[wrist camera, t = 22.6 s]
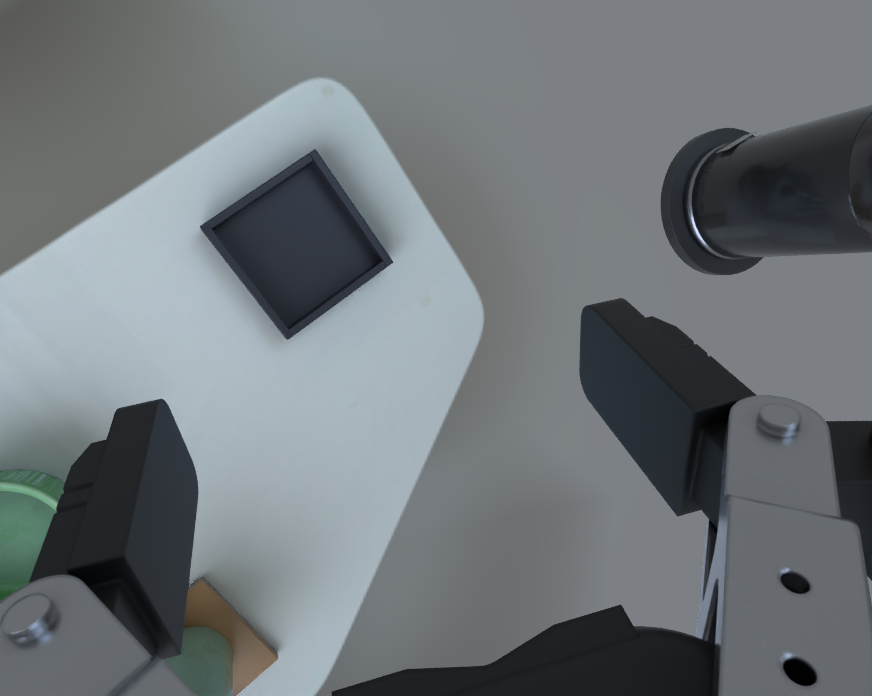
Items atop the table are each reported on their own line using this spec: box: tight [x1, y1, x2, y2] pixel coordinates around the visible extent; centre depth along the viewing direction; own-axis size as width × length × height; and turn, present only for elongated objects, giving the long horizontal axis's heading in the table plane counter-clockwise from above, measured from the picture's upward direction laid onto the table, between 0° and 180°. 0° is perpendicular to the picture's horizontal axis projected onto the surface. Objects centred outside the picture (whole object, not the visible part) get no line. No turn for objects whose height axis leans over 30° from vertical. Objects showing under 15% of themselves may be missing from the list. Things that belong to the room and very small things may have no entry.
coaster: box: [184, 577, 278, 696], centre depth 41 cm, size 8×8×1 cm
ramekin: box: [0, 470, 65, 602], centre depth 36 cm, size 9×9×4 cm
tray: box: [200, 150, 393, 340], centre depth 40 cm, size 9×9×2 cm
